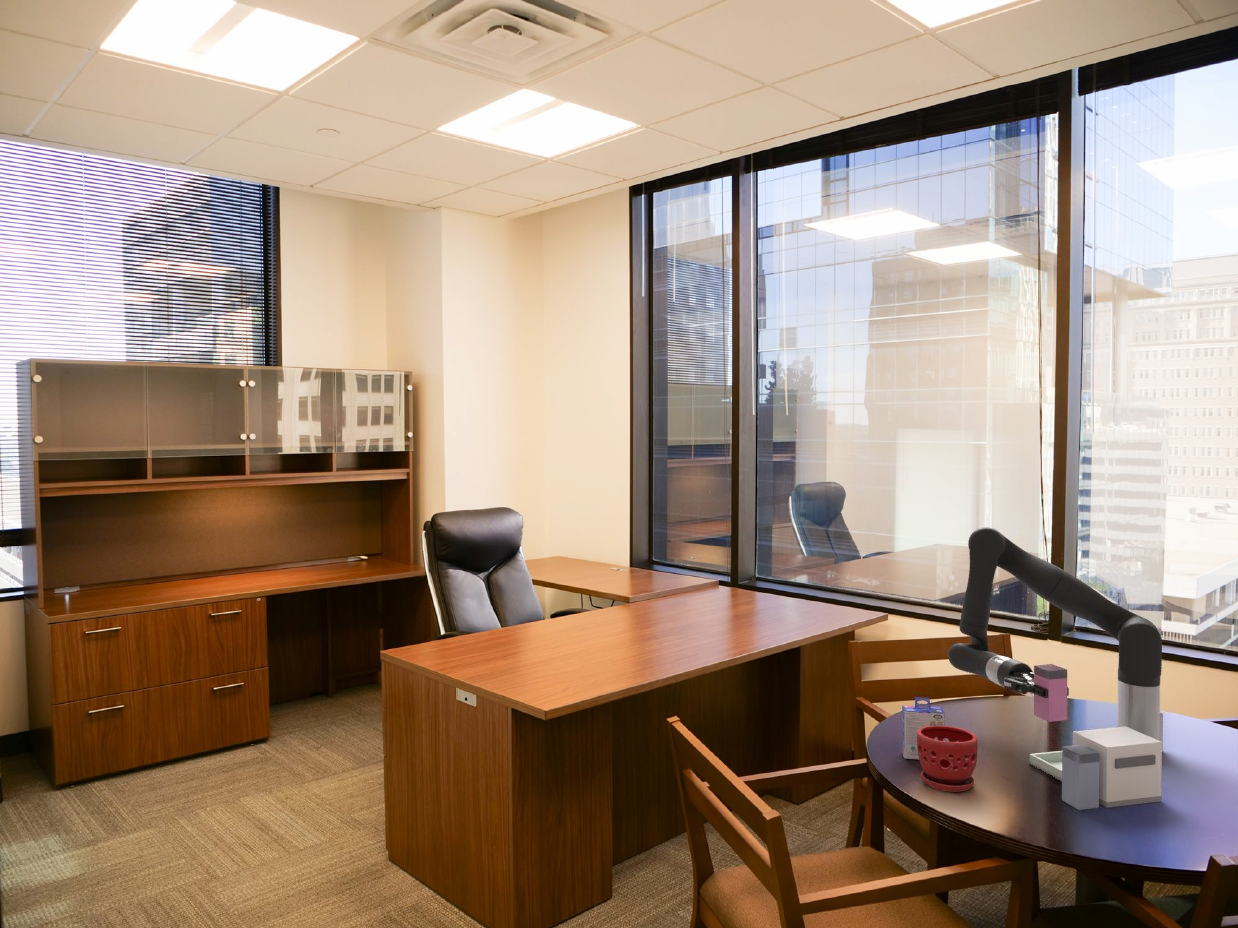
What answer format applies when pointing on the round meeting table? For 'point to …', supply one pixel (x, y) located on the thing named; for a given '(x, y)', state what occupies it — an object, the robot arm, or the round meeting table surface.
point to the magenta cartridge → (1051, 692)
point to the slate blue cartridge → (1080, 777)
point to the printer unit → (1125, 765)
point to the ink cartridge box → (918, 724)
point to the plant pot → (947, 757)
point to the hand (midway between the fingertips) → (1057, 692)
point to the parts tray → (1048, 763)
